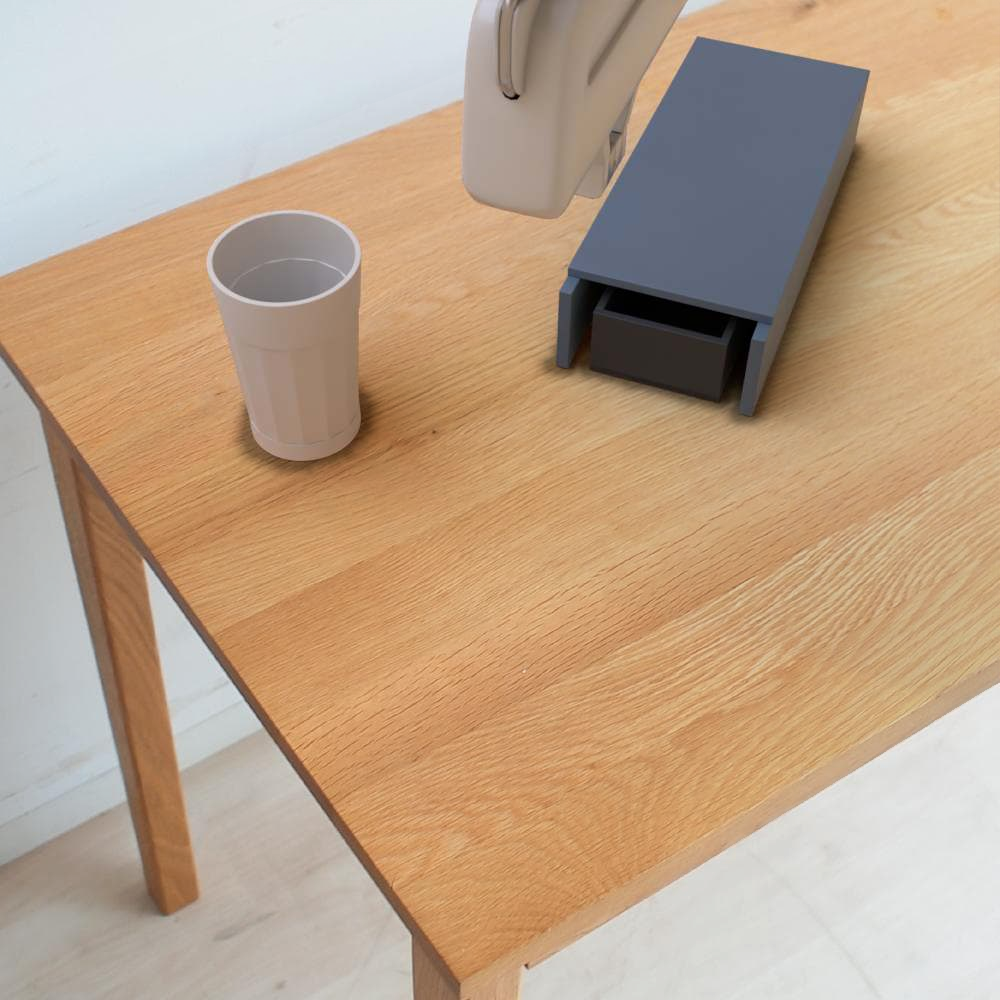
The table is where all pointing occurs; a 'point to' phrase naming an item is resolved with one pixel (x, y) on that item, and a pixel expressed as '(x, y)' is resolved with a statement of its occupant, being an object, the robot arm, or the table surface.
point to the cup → (293, 328)
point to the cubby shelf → (723, 195)
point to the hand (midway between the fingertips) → (592, 177)
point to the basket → (665, 342)
